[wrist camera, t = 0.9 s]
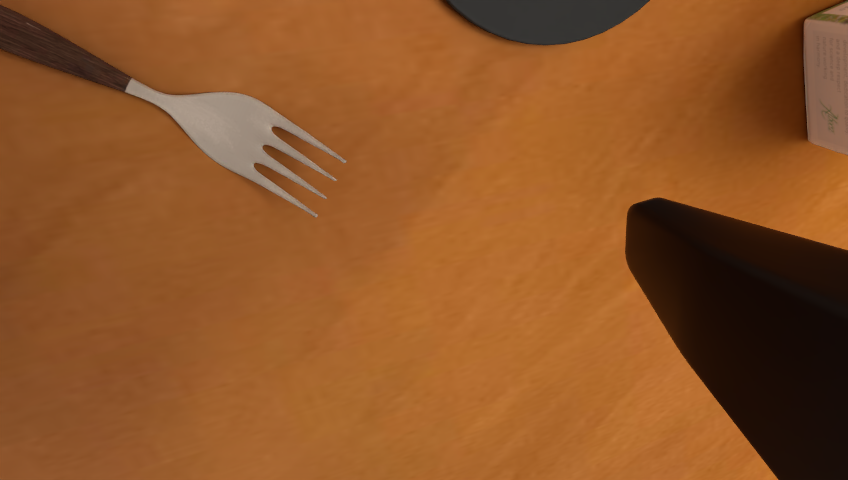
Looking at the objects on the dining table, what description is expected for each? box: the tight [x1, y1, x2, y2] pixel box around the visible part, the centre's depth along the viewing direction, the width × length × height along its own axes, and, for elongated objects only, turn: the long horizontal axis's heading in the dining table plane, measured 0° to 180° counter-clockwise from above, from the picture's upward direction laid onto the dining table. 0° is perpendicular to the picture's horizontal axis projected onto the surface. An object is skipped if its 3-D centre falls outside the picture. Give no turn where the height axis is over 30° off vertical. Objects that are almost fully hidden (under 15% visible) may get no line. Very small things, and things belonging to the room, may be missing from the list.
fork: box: [0, 5, 347, 217], centre depth 19 cm, size 3×16×2 cm, turn 59°
